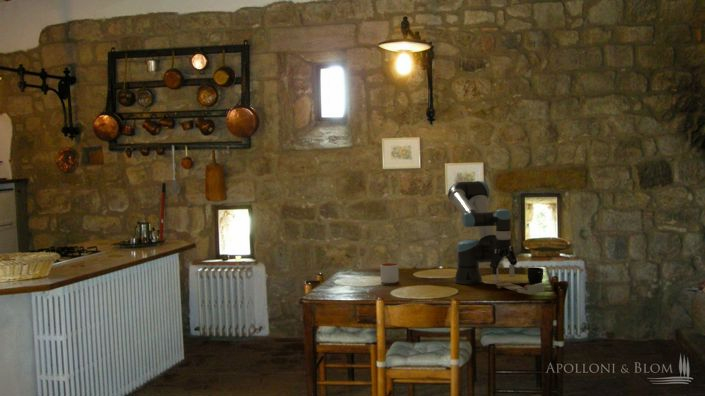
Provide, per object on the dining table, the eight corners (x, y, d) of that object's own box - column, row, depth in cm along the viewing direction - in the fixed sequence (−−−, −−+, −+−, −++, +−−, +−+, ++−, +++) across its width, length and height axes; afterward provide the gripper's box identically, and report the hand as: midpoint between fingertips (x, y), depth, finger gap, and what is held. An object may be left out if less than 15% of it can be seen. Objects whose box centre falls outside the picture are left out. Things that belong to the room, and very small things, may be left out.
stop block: (517, 292, 344) (517, 284, 344) (530, 289, 351) (530, 281, 351) (530, 294, 338) (530, 286, 338) (543, 291, 345) (543, 283, 345)
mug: (532, 289, 350) (531, 271, 350) (525, 285, 362) (525, 267, 362) (547, 289, 351) (547, 270, 350) (540, 284, 363) (540, 267, 362)
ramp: (496, 288, 357) (496, 283, 357) (504, 286, 362) (504, 281, 361) (519, 291, 346) (519, 286, 346) (527, 289, 350) (527, 284, 350)
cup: (385, 284, 375) (384, 266, 374) (377, 281, 384) (377, 264, 384) (401, 282, 379) (401, 265, 378) (393, 279, 388) (393, 262, 387)
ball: (521, 289, 346) (525, 294, 343) (523, 283, 343) (528, 288, 341) (527, 288, 347) (532, 293, 344) (530, 282, 345) (534, 287, 342)
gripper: (494, 241, 345) (494, 282, 346) (523, 236, 361) (524, 276, 362) (482, 240, 351) (483, 281, 352) (512, 235, 367) (512, 274, 368)
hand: (504, 278), depth 357 cm, fingers open, 13 cm apart
